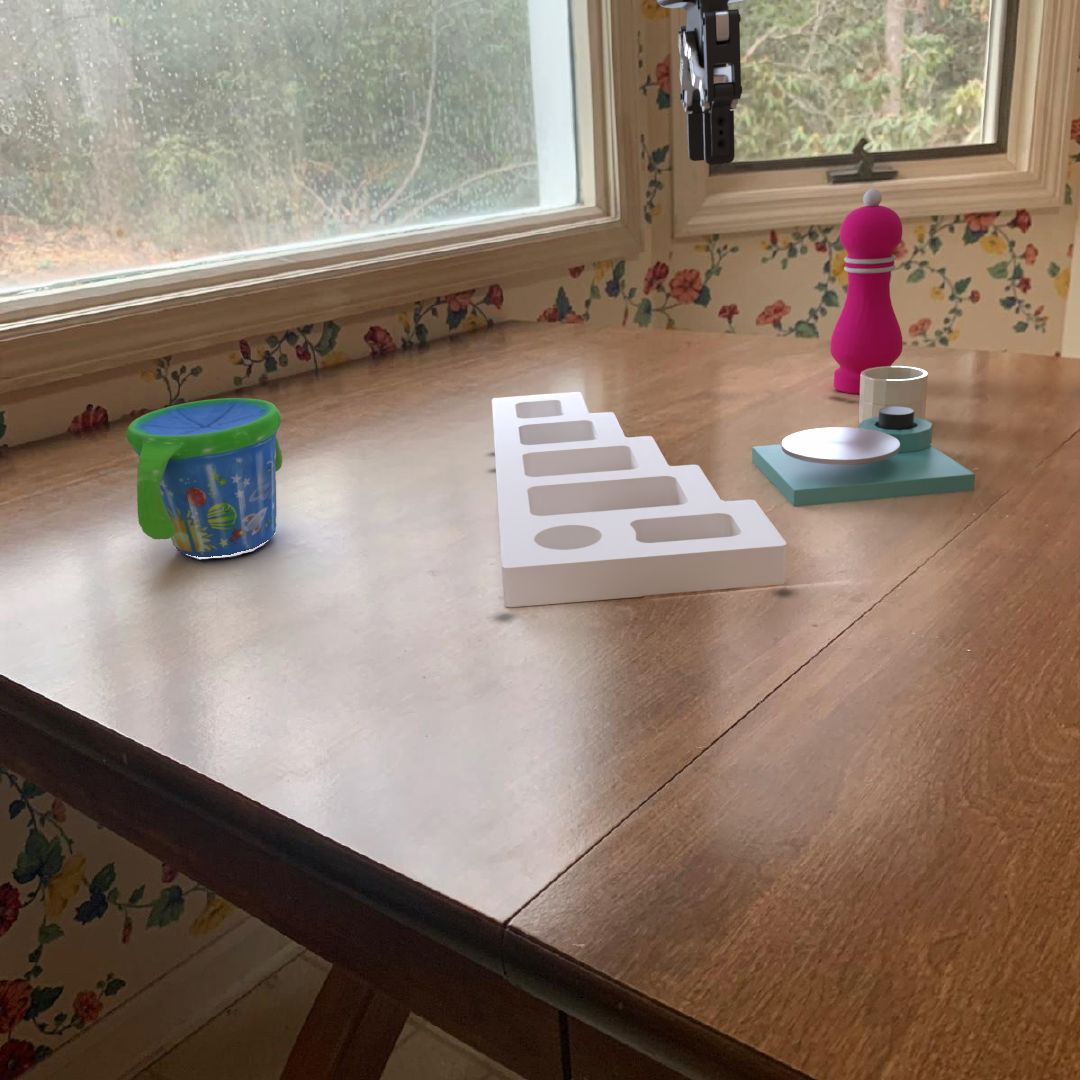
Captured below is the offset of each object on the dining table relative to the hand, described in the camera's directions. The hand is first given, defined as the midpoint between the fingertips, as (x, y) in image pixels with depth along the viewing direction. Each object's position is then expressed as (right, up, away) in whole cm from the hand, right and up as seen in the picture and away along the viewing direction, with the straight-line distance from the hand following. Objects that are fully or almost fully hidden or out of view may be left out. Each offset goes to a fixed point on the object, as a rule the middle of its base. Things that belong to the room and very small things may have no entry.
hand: (710, 161), depth 87 cm
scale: (+12, -25, +1) cm, 28 cm away
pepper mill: (+21, -14, +28) cm, 38 cm away
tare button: (+16, -21, +4) cm, 27 cm away
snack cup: (-37, -31, -4) cm, 49 cm away
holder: (-8, -26, +3) cm, 27 cm away
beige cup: (+19, -20, +14) cm, 31 cm away
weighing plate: (+10, -23, -1) cm, 25 cm away
